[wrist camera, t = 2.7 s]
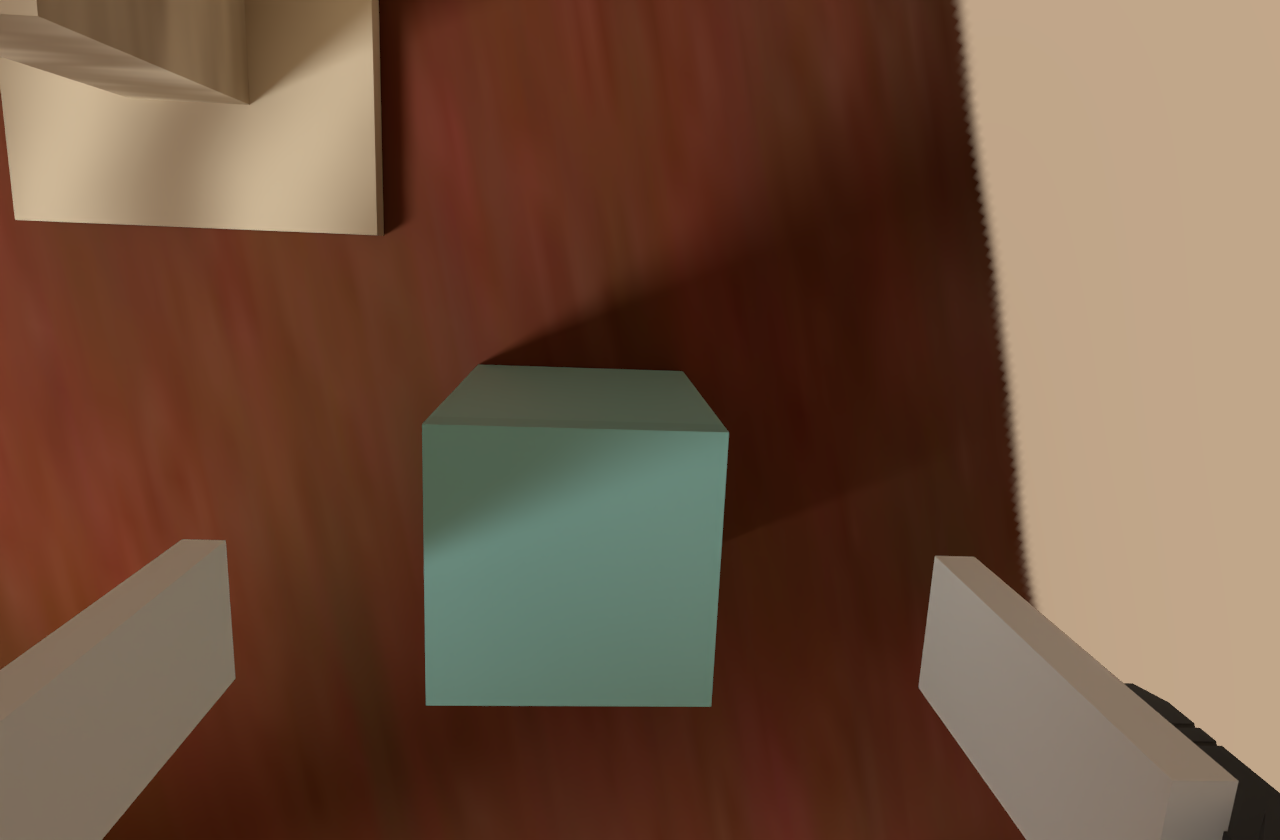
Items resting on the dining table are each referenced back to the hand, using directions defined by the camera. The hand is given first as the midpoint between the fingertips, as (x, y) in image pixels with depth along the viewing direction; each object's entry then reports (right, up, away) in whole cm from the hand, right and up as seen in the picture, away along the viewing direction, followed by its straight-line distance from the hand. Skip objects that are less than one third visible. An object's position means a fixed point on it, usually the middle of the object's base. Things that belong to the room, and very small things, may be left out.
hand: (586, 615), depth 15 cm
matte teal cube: (-1, +2, +11) cm, 11 cm away
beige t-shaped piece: (-11, +14, +8) cm, 20 cm away
